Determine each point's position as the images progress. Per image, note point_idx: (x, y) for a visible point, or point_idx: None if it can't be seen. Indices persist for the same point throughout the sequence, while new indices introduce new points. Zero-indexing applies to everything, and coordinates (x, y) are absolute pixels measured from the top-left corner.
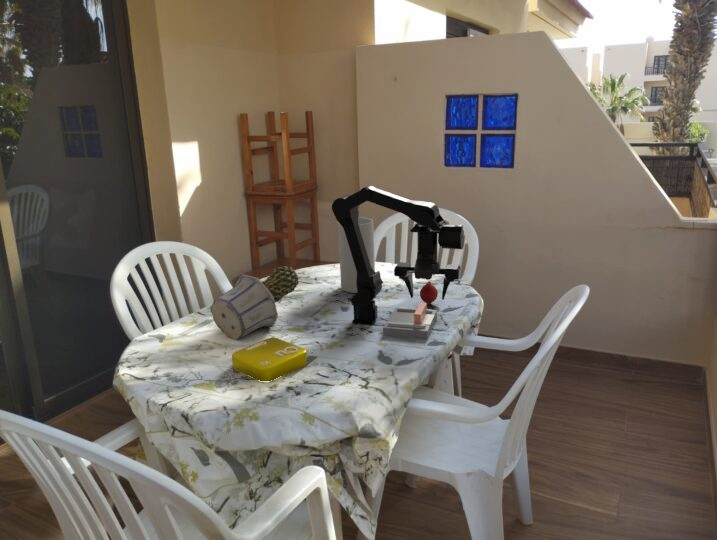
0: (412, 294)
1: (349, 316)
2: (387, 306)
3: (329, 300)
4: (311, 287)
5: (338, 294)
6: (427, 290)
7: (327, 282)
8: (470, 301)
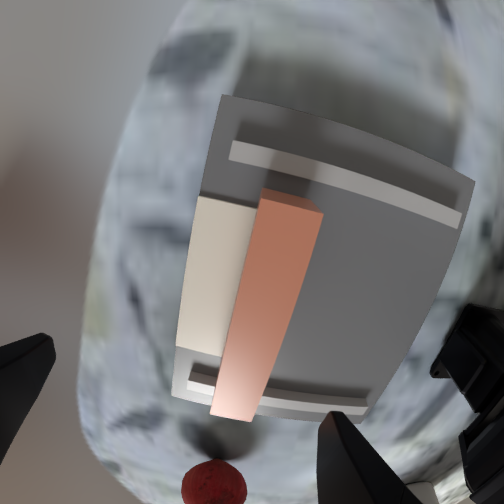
0: (334, 437)
1: None
2: None
3: None
4: None
5: (447, 469)
6: (215, 499)
7: None
8: (99, 445)
